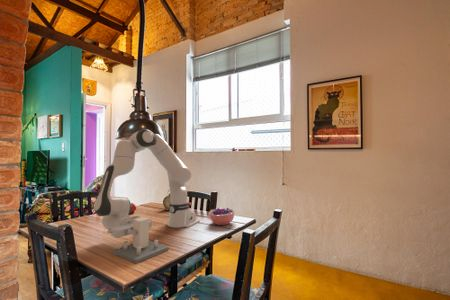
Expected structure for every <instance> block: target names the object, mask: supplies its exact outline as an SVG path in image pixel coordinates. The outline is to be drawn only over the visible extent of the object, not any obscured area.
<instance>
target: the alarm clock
mask: <svg viewBox="0 0 450 300" xmlns="http://www.w3.org/2000/svg"><path fill="white" fill-rule="evenodd" d="M168 192H170V189H169V190H168ZM169 204H170V193H168V195H166V196H165V197H164V198H163V201H162V205H163V207H164V211H166V210H170V209H169Z"/></svg>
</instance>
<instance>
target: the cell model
mask: <svg viewBox="0 0 450 300" xmlns="http://www.w3.org/2000/svg"><path fill="white" fill-rule="evenodd" d="M208 217H209V218H208V219H210V220H211V222H212V223H213V224H215V225H217V226H225V225H228V224H230V223H231V222H232V221H233V220H234V218H235V210H233V209H231V208H229V207H226V208H222V207H217V208H214V209H213V208H212V209H210V210H209V212H208Z"/></svg>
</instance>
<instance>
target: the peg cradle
mask: <svg viewBox="0 0 450 300" xmlns="http://www.w3.org/2000/svg"><path fill="white" fill-rule="evenodd" d="M167 251H169V246H167V245H163V244H160V243H159V240H158V239H155V240H153V241H151V240H149V246H147V247H144V248H141V246H137V248H135V247H133V243H130V244H129V242H128V241H123V246H121V247H119V248H115V249H113V250H112V254H113V255H115V256H117V257H120V258H122V259H124V260H127V261H129V262H132V263H134V264H139V263H142V262H144V261H146V260H148V259H151V258H153V257H155V256H158V255H160V254H162V253H165V252H167Z"/></svg>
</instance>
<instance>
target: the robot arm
mask: <svg viewBox="0 0 450 300" xmlns="http://www.w3.org/2000/svg"><path fill="white" fill-rule="evenodd" d="M145 149H148V150H150V152H151V153H152V154H153V156H154V157H155V158H156V160H157V161H158V162H159V164H160V165H161V167H163V168H164V169H165V171H167V173H166V174H167V177H168V178H167V179H168V186H169V190H170V191H169V194H170V204H169V209H168V210H169V213H168V214H169V215H168V220H167V225H166V226H167V227H169V228H189V227H192V226H194V225H196V224H197V223H199V222H200V221H201V220H200V219H199V218H197V214H196V212H195V211H194V210H193V209H191V208H190V206H191V207H192V202H188V188H187V187H186V183H187V182H189V181H190V180H191V177H192V172H191V170H190V168H188V167H187V165H186V164H185V163H184V162H183V161H182V160H181V158H179V157H178V156H177V155H176V153H175V152H174V150H173V149H172V148H171V146H170V145H169V144H168V143H167V141H166V140H165V139H164V138H163V137H162V135H160V134H159V133H154V132H153V131H151V130H149V129H148V128H147V129H145V128H143V129H140V130H138V131H136V132H134V133H133V134H132V135H131V136H130V135H129V136H128V138H127V139H121V140H119V141H118V142H117V144H116V146H115V150H114V155H113V160H112V163H111V164H110V165H108V166H107V168H106V169H105V171H104V174H103V176H102V180H101V183H100V187H99V189H98V190H99V191H98V193H97V195H96V199H95V200H94V203H93V211H94V213H95V214H96V215H97V216H99V217H102V219H101V223H102V226H103V228H105V229H106V230H107V231H106V232H107V234H110V235H111V236H112V237H113V238H116V239H118V238H119V239H120V238H122V237H123V238H124V237H126V236H129V235H133V234H134V235H136V234H138V231H137V230H133V219H137V218H141V217H142V216H140V215H139V216H129V215H130V214H131V213H130V211H131V203H132V202H131V201H130V199H129V198H128V197H124V196H112V195H110V194H111V191H112V186H113V183H114V181H115V179H116V178H118V177H120V176H123V175H124V176H125V175H127V174H129V173H131V172H132V171H133V170H134V167H135V160H136V159H135V158H136V153H139V152H141V151H144V150H145ZM152 224H153V223H152V219H149V229H151V228H152V226H153V225H152Z"/></svg>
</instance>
